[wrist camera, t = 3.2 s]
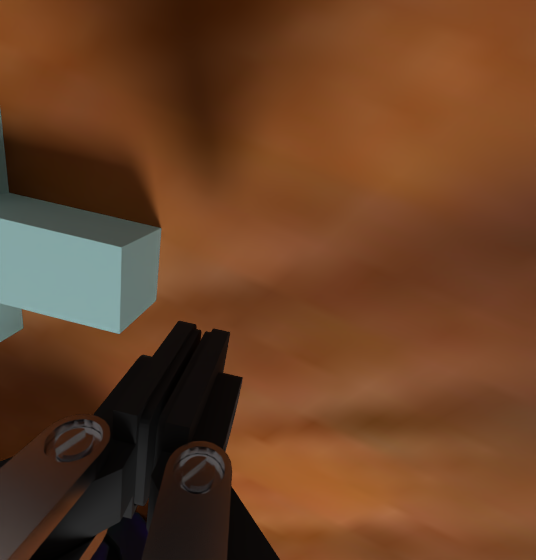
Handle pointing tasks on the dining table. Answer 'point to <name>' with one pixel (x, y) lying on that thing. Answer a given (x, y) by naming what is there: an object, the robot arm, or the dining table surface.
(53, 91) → the dining table surface
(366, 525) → the dining table surface
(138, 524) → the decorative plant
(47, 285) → the t block
